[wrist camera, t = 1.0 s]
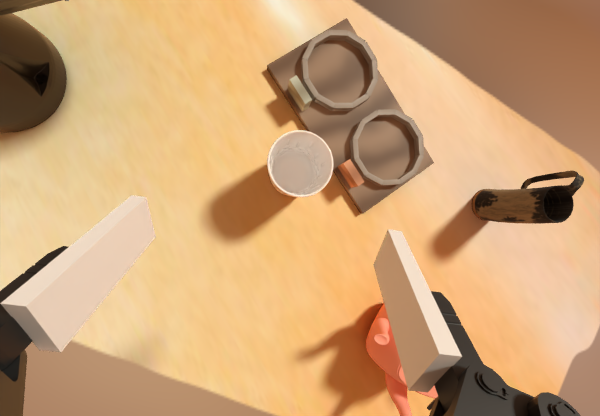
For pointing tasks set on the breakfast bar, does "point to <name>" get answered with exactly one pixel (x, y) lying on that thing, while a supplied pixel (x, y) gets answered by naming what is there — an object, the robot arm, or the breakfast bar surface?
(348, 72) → the board
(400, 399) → the teapot
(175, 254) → the breakfast bar surface
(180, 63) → the breakfast bar surface
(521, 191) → the mug
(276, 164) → the white cup
